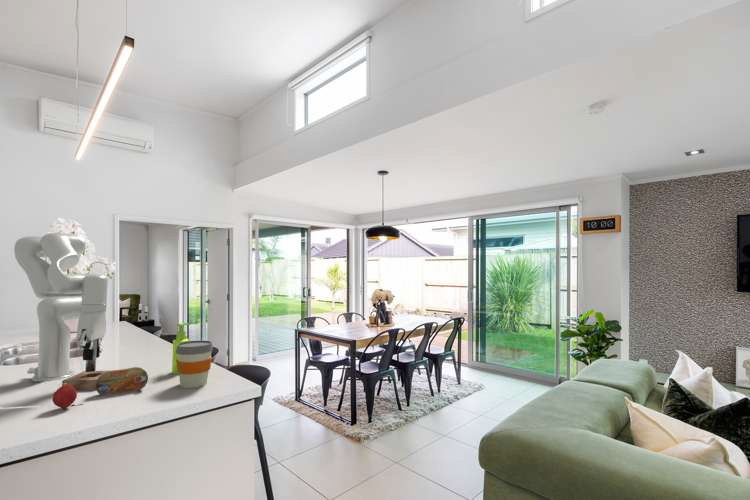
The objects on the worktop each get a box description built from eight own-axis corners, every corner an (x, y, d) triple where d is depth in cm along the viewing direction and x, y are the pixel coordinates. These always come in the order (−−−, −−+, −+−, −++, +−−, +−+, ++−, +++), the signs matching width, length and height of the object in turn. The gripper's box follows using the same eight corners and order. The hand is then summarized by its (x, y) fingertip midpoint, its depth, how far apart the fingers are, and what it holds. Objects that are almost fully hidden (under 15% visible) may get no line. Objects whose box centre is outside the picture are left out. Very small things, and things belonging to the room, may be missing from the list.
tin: (95, 398, 125) (96, 373, 126) (95, 396, 128) (96, 371, 128) (147, 390, 134) (148, 366, 135) (146, 388, 137) (147, 364, 137)
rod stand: (61, 392, 131) (62, 380, 132) (83, 381, 143) (84, 371, 144) (99, 391, 133) (99, 379, 133) (117, 380, 145) (118, 370, 145)
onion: (61, 405, 119) (62, 379, 120) (80, 405, 120) (81, 379, 120) (47, 412, 113) (48, 385, 114) (67, 412, 114) (68, 385, 114)
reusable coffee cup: (219, 381, 145) (220, 342, 145) (191, 391, 133) (192, 348, 134) (196, 377, 150) (197, 339, 151) (167, 386, 139) (168, 345, 139)
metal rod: (83, 372, 137) (85, 333, 137) (88, 369, 140) (90, 331, 140) (92, 372, 137) (94, 333, 138) (97, 369, 140) (99, 331, 141)
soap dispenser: (193, 370, 160) (194, 322, 161) (179, 374, 154) (181, 324, 155) (182, 368, 162) (183, 321, 163) (168, 372, 156) (170, 324, 157)
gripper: (96, 305, 147) (93, 353, 146) (67, 311, 131) (64, 364, 130) (116, 306, 148) (114, 353, 147) (91, 311, 132) (88, 364, 131)
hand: (91, 358), depth 139 cm, fingers closed on metal rod, 3 cm apart
